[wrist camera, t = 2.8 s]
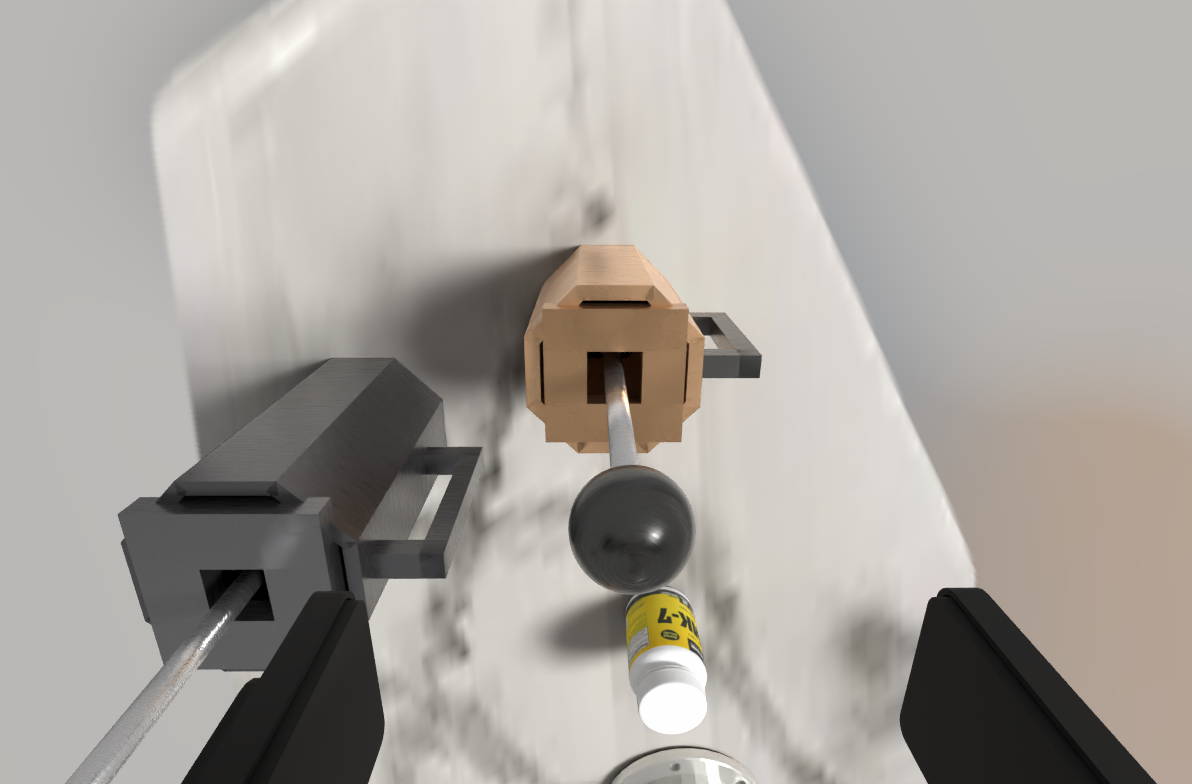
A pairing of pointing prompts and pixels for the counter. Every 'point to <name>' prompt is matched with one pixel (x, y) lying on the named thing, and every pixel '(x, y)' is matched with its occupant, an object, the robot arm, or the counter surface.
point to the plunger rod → (166, 684)
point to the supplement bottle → (665, 661)
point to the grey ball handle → (629, 510)
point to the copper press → (623, 350)
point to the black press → (302, 509)
